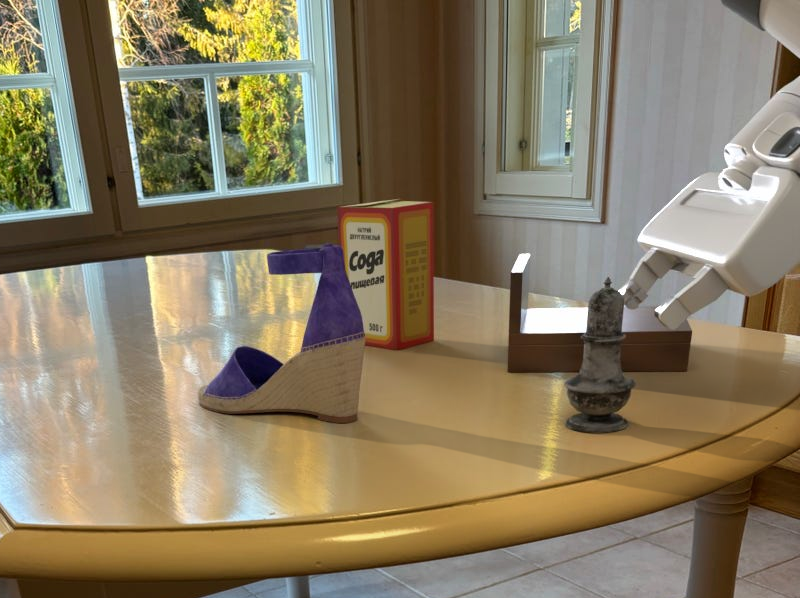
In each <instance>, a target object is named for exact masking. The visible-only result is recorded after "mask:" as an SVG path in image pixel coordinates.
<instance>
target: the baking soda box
mask: <svg viewBox="0 0 800 598" xmlns="http://www.w3.org/2000/svg"><path fill="white" fill-rule="evenodd" d="M398 200H399V198H397V199H395V201H394V199H389V200H379V201H372V202H365V203H357V204H349V205H343V206H337V207H336V208H337V209H336V211H337V228H338V229H337V230H338V246H341V247H342V248H343V253H344V263H345V269H346V273H347V276H348V279H349V282H350V285H351V288H352V291H353V294H354V296H355V299H356V301H357V304H358V306H359V309H360V312H361V315H362V320H363V328H364V332H365V338H366V340H365V346H367V347H375V348H381V349H385V350H393V351H399V350H403V349H407V348H411V347H414V346H418V345H422V344H426V343H429V342H430V343H431V342H434V341H435V289H434V288H435V285H434V284H435V283H434V281H435V278H434V274H435V272H434V269H435V268H434V267H435V263H434V257H435V256H434V255H435V254H434V248H435V247H434V202H433V201H412V200H411V201H409V200H400V201H398Z"/></svg>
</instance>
